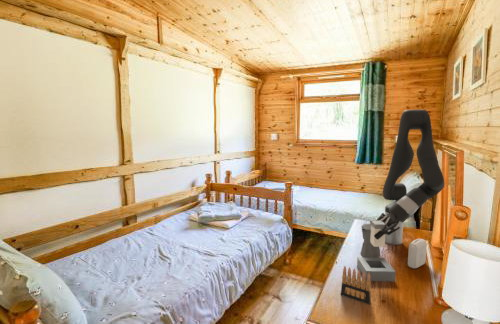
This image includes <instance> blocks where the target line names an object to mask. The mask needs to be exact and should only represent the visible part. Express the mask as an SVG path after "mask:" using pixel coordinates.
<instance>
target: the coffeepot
mask: <svg viewBox="0 0 500 324" xmlns="http://www.w3.org/2000/svg"><path fill="white" fill-rule="evenodd" d="M371 221H372V220H370V221H369V223H363V224H362V225H361V233H362V239H363V242H362V246H361V250H360V254H361V256H362V257H363V258H381V250H380V247H374V246H373V245H372V244H371V242H370V236H371V233H370V230H371Z"/></svg>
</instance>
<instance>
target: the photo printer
mask: <svg viewBox="0 0 500 324" xmlns="http://www.w3.org/2000/svg"><path fill="white" fill-rule="evenodd" d="M427 247H428V243H427V240H426V239H423V238H416V239H414V240H413V241H411V243H409V245H408V255H407V256H408V257H407V266H408V267H409V268H411V269H417V268H419V267H421V266H424V265H425V264H426V261H427V260H426V257H427Z"/></svg>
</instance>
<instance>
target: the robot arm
mask: <svg viewBox="0 0 500 324" xmlns="http://www.w3.org/2000/svg"><path fill="white" fill-rule="evenodd" d="M432 129H433V128H432V122H431V117H430V113H429V112H428V111H427V110H426V109H405V110H404V111H403V112H402V113H401V116H400V120H399V127H398V131H397V136H396V137H397V138H396V143H395V146H394V150H393V153H392V157H391V162H390V167H389V168H388V169H389V170H388V173H387V175H386V179H385V181H384V184H383V186H382V187H383V188H382V197H383V199H385V200H386V201H393V202H391V203H389V204H386V205H385V207H384V212H382V213H381V214H380V216H378V218H377V219H376V220H375V221H383V222H384V227H383V228H382V229H381V231H378V232H377V233H376V234H375V235H374V237H375V238H376V239H377V240H378V239H379V238H380V237H382V236H383V235H384V234H385V244H388V245H392V246H393V245H394V246H395V245H396V246H399V245H402V243H403V230H404V229H403V228H404V222H406V221H407V220H408V219H409V218H410V217H411V216H412V215H414V214H415V213H416V212H417V210H418V209H419V208H421V206H423V205H424V204H425V203H426V202H427V201H429V200H430V199H432V198H433V197H434V196H436V195H437V194H439V193H441V192H442V190H443V189H444V187H445V178H444V175H443V173H442V172H443V171H442V169H441V168H440V164H439V161H438V157H437V153H436V151H435V147H434V145H435V144H434V139H433V131H432ZM410 130H420V133H421V138H420V141H419V143H418V146H417V148H416V158H417V161H418V164H419V168H420V170H421V173H422V174H421V175H422V179H423V182H422V184H420V185H419V186H418V187H413V188H412V189H411V190H409V191H408V192H407V187H406V185H405V184H404V183H401V182H400V183H399V182H397V181H398V180H399V179H400V178H401V177H402V175H404V174H405V173H406V172H408V171H409V169H410V168H411V166H412V163H413V161H414V157H415V152H414V148H413V146H412V145H411V143H410V140H409V133H410ZM385 228H386V229H385ZM370 233H371V230H370Z"/></svg>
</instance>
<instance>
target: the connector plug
mask: <svg viewBox="0 0 500 324" xmlns="http://www.w3.org/2000/svg"><path fill="white" fill-rule="evenodd" d="M370 221H371V223H370V224H371V236H370V242H371V244H372V245H373V246H374V247H379V248H380V247H381V248H385V247H386V242H385V234H384V235H383V236H382V237H380V238H379V239H378V240H377V239H376V238H375V237H374V235H375V234H376V233H377V232H378V231H381V229H382V228H383V227H384V222H383V221H376V220H370ZM385 229H386V228H385Z"/></svg>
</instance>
